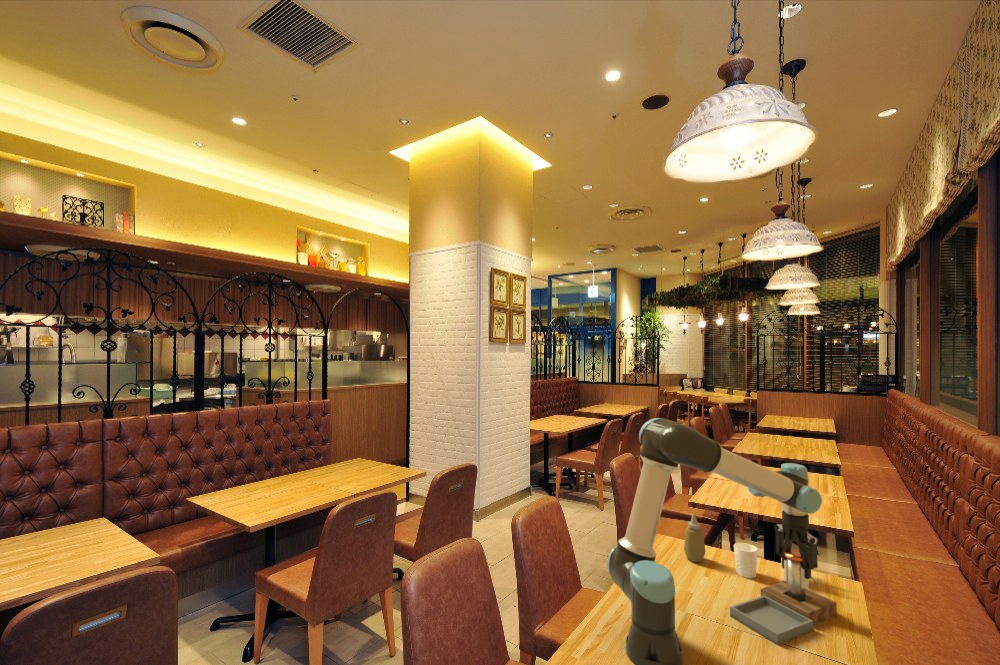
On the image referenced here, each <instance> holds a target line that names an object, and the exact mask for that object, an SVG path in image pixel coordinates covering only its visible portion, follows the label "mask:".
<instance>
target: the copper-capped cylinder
mask: <svg viewBox="0 0 1000 665" xmlns="http://www.w3.org/2000/svg"><path fill="white" fill-rule="evenodd" d="M785 557H786V558H787V576H788V596H789V597H791V598H793V599H795V600H797V601H799V602H803V601H806V589H807V588H805V589H803V588H801V567H803V559H802V558H801V555H800V551H798V550H795V549H794V550H793V549H791V551H788V552H785Z"/></svg>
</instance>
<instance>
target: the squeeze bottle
mask: <svg viewBox="0 0 1000 665" xmlns="http://www.w3.org/2000/svg"><path fill="white" fill-rule="evenodd" d="M696 516H697V515H696V513H692V514H691V519H690V521H688V522H687V527H686V528H685V533H684V543H683V545H684V546H683V550H684V554H685V556H686V558H687V560H688V561H690V562H692V563H702V562H703V560H704V557H705V554H706V546H705V538H704V530H703V529H702V528H701V523H699V522H698V520H697V517H696Z"/></svg>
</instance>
